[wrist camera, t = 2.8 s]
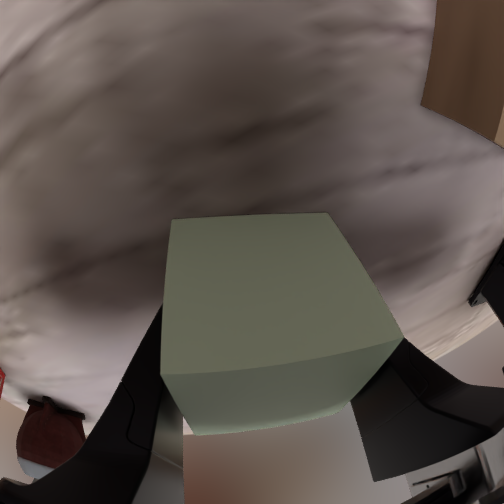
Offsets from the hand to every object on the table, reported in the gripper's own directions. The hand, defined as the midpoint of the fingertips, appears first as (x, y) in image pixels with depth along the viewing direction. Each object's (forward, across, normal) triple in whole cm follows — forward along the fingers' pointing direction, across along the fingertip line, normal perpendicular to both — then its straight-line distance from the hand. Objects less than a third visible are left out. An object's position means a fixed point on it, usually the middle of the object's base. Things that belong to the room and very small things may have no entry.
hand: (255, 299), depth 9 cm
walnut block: (+2, -9, -10) cm, 14 cm away
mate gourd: (+1, +18, +16) cm, 24 cm away
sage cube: (+1, 0, 0) cm, 1 cm away
